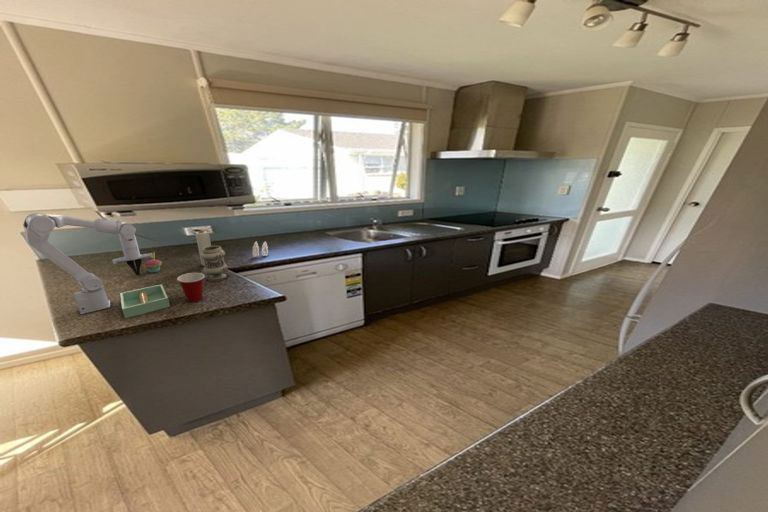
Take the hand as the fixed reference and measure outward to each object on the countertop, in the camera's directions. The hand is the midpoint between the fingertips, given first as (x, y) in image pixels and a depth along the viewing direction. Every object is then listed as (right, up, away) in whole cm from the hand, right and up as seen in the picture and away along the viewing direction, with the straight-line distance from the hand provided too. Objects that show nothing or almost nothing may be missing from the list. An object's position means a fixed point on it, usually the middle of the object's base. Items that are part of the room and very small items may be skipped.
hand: (137, 274), depth 138 cm
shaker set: (+33, -5, +18) cm, 38 cm away
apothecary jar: (+25, -4, +24) cm, 35 cm away
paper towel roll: (+7, +3, +43) cm, 44 cm away
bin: (+9, -13, -6) cm, 17 cm away
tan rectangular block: (+8, -11, -6) cm, 15 cm away
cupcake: (-17, 0, +31) cm, 36 cm away
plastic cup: (+29, -12, -1) cm, 31 cm away
